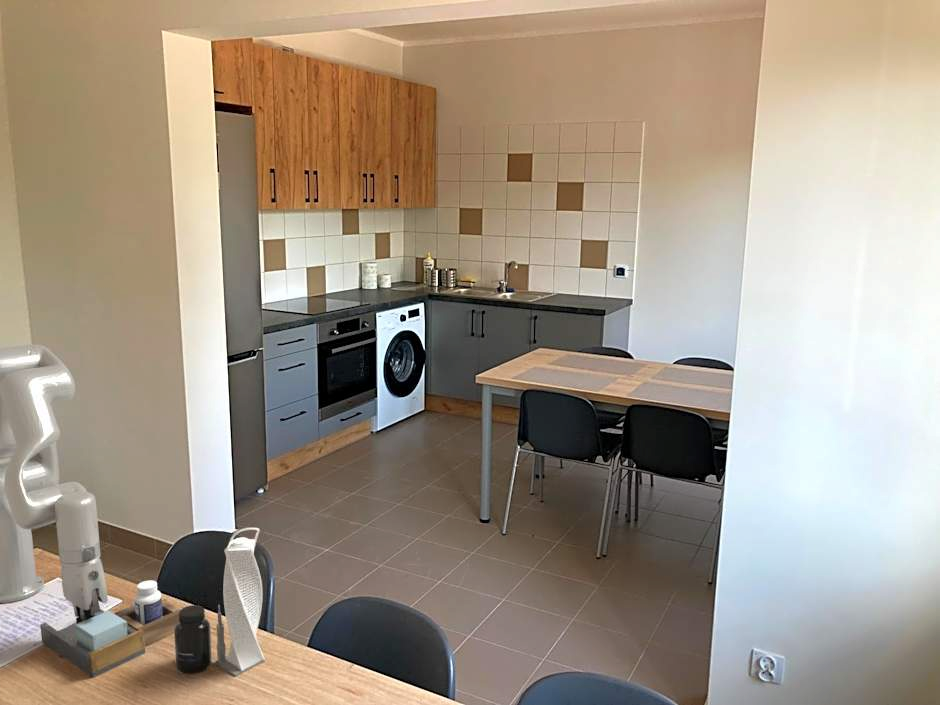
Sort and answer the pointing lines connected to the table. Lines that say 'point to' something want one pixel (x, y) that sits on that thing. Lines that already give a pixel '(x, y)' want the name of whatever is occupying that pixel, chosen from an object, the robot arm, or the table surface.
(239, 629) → the skyscraper
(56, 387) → the robot arm
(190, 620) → the supplement bottle
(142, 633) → the bay
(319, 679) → the table surface
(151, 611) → the pill bottle
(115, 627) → the pale teal block
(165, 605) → the open wooden box
